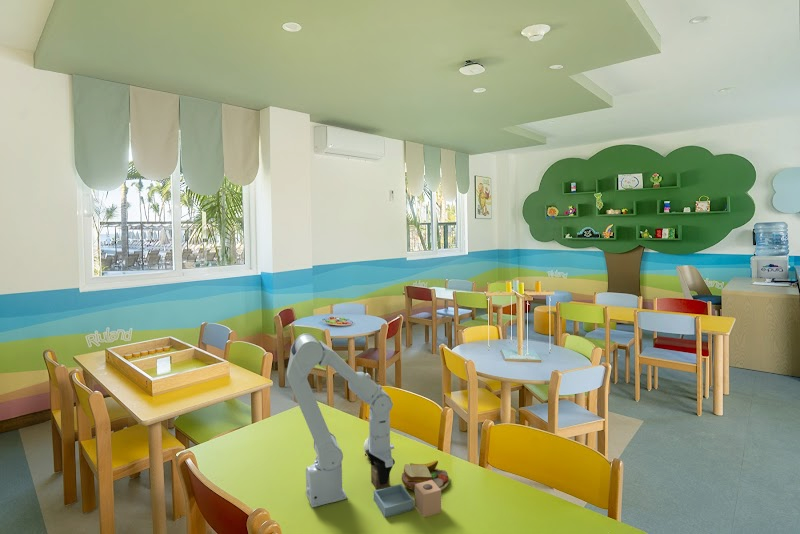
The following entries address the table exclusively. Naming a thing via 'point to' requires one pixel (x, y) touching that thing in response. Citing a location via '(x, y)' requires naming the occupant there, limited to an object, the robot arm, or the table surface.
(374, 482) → the walnut block
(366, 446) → the stress ball
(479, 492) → the table surface
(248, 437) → the table surface
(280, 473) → the table surface
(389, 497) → the tray
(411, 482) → the toy sandwich meal
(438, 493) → the terracotta block
